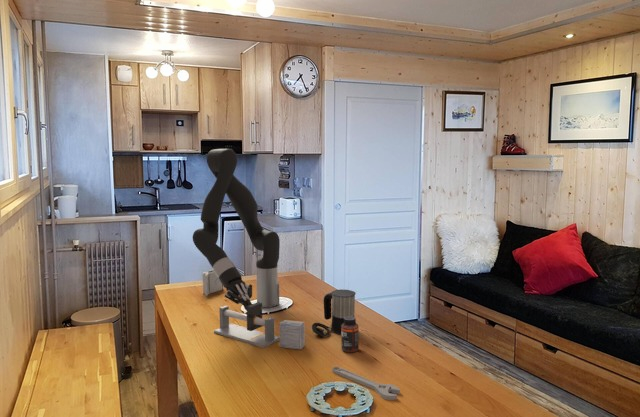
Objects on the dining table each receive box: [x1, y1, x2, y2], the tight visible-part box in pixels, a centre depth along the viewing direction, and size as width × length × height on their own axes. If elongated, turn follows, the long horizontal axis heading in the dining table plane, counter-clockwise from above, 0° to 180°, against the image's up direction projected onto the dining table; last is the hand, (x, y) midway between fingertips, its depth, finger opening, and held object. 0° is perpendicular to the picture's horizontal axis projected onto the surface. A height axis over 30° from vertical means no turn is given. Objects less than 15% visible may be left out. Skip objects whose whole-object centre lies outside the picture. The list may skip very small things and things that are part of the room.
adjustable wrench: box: [331, 366, 401, 401], centre depth 151 cm, size 25×6×2 cm, turn 40°
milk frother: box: [311, 289, 357, 337], centre depth 192 cm, size 14×16×15 cm
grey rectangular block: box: [202, 269, 224, 297], centre depth 246 cm, size 14×5×10 cm, turn 154°
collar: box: [246, 301, 263, 331], centre depth 185 cm, size 2×6×9 cm, turn 144°
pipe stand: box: [213, 305, 280, 349], centre depth 188 cm, size 25×9×9 cm, turn 54°
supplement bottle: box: [340, 316, 360, 353], centre depth 175 cm, size 6×6×11 cm
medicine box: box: [279, 319, 306, 351], centre depth 178 cm, size 8×4×9 cm, turn 71°
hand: (251, 310), depth 186 cm, fingers closed
